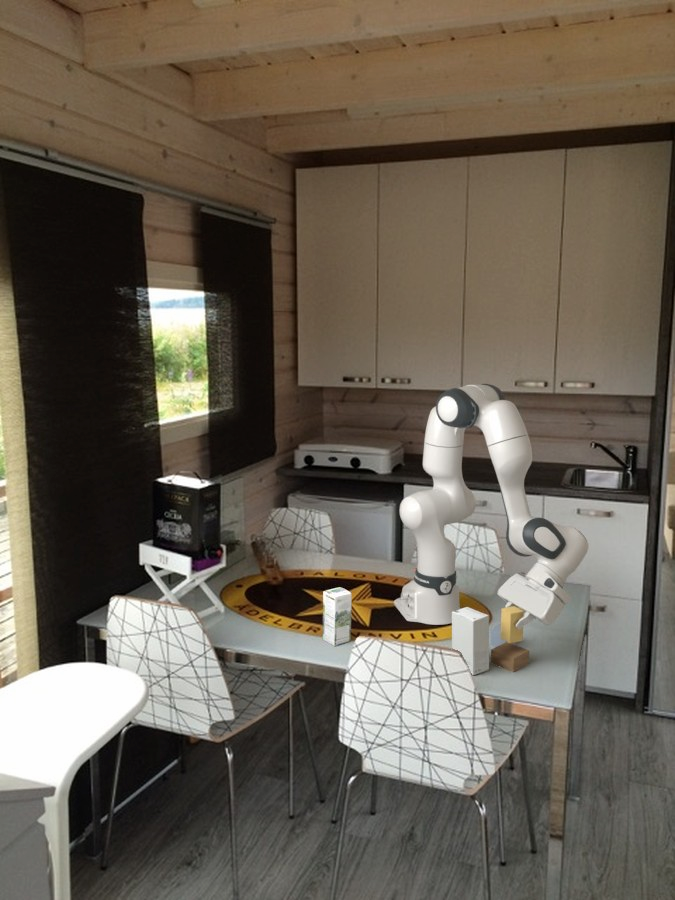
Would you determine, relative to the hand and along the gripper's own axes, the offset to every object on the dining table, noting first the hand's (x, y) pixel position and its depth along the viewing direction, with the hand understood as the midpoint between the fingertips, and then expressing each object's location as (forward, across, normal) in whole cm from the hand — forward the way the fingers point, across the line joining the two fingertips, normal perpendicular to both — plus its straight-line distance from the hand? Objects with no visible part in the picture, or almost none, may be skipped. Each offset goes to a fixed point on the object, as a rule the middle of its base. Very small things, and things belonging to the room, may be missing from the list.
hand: (510, 623), depth 207 cm
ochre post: (+3, 0, +4) cm, 4 cm away
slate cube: (+4, -10, +12) cm, 16 cm away
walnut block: (+8, 0, +8) cm, 11 cm away
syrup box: (+33, -30, -17) cm, 48 cm away
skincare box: (+15, -2, +1) cm, 16 cm away
